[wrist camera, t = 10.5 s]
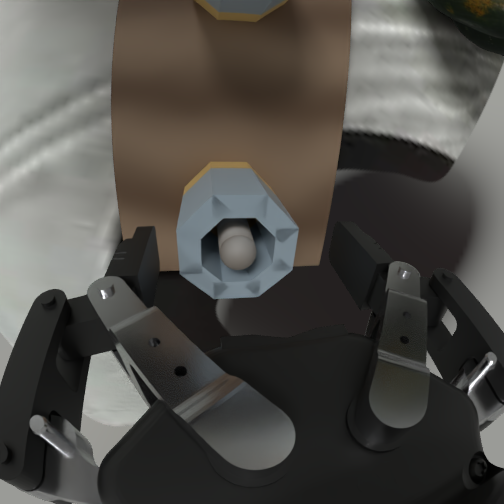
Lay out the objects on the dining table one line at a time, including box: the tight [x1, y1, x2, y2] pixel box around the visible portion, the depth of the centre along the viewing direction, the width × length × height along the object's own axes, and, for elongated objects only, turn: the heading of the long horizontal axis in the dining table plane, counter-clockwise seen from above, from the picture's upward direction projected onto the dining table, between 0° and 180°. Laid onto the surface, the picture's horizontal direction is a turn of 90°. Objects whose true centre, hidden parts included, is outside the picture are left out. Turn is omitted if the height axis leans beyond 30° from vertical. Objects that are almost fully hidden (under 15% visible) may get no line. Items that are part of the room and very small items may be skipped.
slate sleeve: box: [176, 162, 299, 299], centre depth 15 cm, size 5×5×6 cm
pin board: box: [111, 0, 351, 271], centre depth 12 cm, size 24×14×9 cm, turn 176°
